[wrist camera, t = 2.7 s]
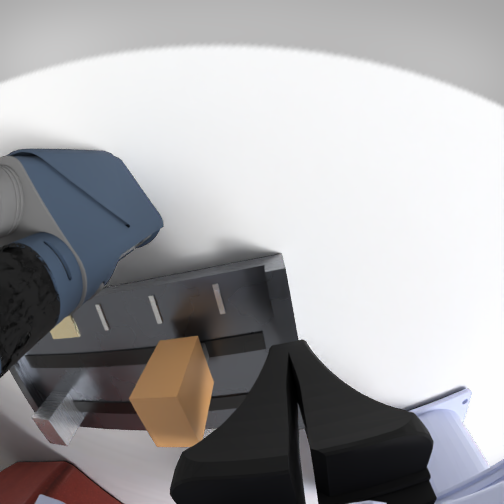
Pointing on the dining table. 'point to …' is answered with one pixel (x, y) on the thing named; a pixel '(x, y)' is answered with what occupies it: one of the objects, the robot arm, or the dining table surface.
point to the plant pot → (49, 484)
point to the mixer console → (146, 339)
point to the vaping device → (62, 237)
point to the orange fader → (175, 392)
